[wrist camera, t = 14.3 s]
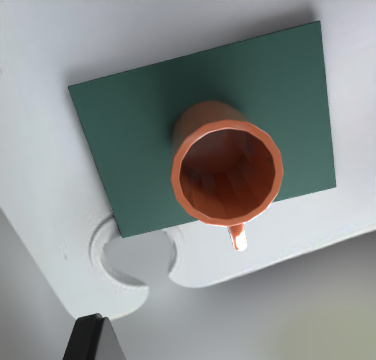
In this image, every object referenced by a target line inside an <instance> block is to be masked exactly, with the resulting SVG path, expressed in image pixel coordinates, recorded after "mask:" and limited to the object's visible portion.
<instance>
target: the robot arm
mask: <svg viewBox="0 0 376 360" xmlns="http://www.w3.org/2000/svg"><path fill="white" fill-rule="evenodd" d="M63 360H126V358H125V356H124V353H123V351H122V348H121V346H120V344H119V341H118V339H117V337H116V334H115V332H114V330H113V327H112V325H111V322H110V320H109V318H108V317H104V318H103V317H102V316H101V314H99V313H97V314H92V315H88V316H84V317H80V318H78V319H77V320H76V322H75V325H74V328H73V331H72V334H71V336H70V340H69V342H68V346H67V348H66V351H65V354H64V357H63Z"/></svg>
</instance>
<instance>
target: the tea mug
mask: <svg viewBox="0 0 376 360" xmlns="http://www.w3.org/2000/svg"><path fill="white" fill-rule="evenodd" d="M282 177H283V165H282V159H281V153H280V151H279V149H278V148H277V146H276V144H275V143H274V141H273V140H272V138H271V137H270V135H269V134H268V133H266V132H265V131H264V130H263V129H262V128H260V127H259V126H258V125H257V124H256V123H254V122H253V121H252V120H251V119H249V118H248V117H247V116H246V115H245V114H243V113H242V112H241V111H240V110H238V109H236V108H235V107H234V106H232V105H230V104H228V103H225V102H222V101H216V100H209V101H203V102H199V103H197V104H195V105H193V106H191V107H189V108H188V109H187V110H186V111H184V112H183V113H182V115H181V116H180V117H179V119H178V120H177V122H176V124H175V126H174V129H173V133H172V141H171V177H170V178H171V183H172V187H173V190H174V194H175V197H176V200H177V201H178V202H179V203H180V204H181V206H182V207H183V208H184V209H185V211H186V212H187V213H188V214H189V215H191V216H193V217H194V218H196V219H198V220H200V221H202V222H204V223H206V224H210V225H219V226H227V228H228V231H229V234H230V237H231V240H232V244H233V246H234V248H235V249H236V250H239V251H241V250H244V249H245V248H246V247H247V239H246V235H245V230H244V225H243V223H245V222H248V221H250V220H251V219H253V218H254V217H256V216H257V215H259V214H261V213H262V212H264V211H265V210H266V209H267V208H268V206H269V205H270V204H271V202H272V201H273V200H274V198H275V197H276V196H277V194H278V192H279V188H280V185H281V181H282Z"/></svg>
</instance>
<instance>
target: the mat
mask: <svg viewBox="0 0 376 360" xmlns="http://www.w3.org/2000/svg"><path fill="white" fill-rule="evenodd" d="M68 89H69V91H70V94H71V97H72V100H73V103H74V105H75V108H76V111H77V114H78V116H79V119H80V122H81V125H82V128H83V130H84V133H85V136H86V139H87V141H88V144H89V147H90V150H91V153H92V155H93V158H94V161H95V164H96V166H97V169H98V172H99V175H100V178H101V180H102V183H103V186H104V189H105V191H106V194H107V197H108V200H109V203H110V205H111V208H112V211H113V214H114V216H115V219H116V222H117V225H118V228H119V230H120V233H121V236H122V238H126V237H130V236H134V235H138V234H143V233H146V232H151V231H155V230H159V229H164V228H168V227H172V226H176V225H180V224H184V223H189V222H193V221H197V220H198V219H196V218H194V217H193V216H191V215H189V214H188V213H187V212H186V211H185V209H184V208H183V207H182V206H181V204H180V203H179V202H178V201H177V200H176V197H175V194H174V190H173V187H172V183H171V178H170V177H171V141H172V133H173V129H174V126H175V124H176V122H177V120H178V119H179V117H180V116H181V115H182V113H183V112H184V111H186V110H187V109H188V108H189V107H191V106H193V105H195V104H197V103H199V102H203V101H209V100H216V101H222V102H225V103H228V104H230V105H232V106H234V107H235V108H236V109H238V110H240V111H241V112H242V113H243V114H245V115H246V116H247V117H248V118H249V119H251V120H252V121H253V122H254V123H256V124H257V125H258V126H259V127H260V128H262V129H263V130H264V131H265V132H266V133H268V134H269V135H270V137H271V138H272V140H273V141H274V143H275V144H276V146H277V148H278V149H279V151H280V153H281V159H282V165H283V177H282V181H281V185H280V188H279V192H278V194H277V196H276V197H275V198H274V200H273V201H272V202H276V201H280V200H285V199H289V198H293V197H297V196H301V195H305V194H310V193H314V192H318V191H322V190H326V189H330V188H335V187H336V179H335V169H334V158H333V148H332V138H331V127H330V117H329V107H328V96H327V86H326V76H325V65H324V55H323V45H322V34H321V24H320V21H316V22H312V23H308V24H304V25H300V26H297V27H293V28H289V29H285V30H281V31H277V32H274V33H270V34H266V35H262V36H258V37H255V38H251V39H247V40H243V41H239V42H236V43H232V44H228V45H224V46H220V47H216V48H213V49H209V50H205V51H201V52H197V53H194V54H190V55H186V56H182V57H178V58H175V59H171V60H167V61H163V62H159V63H155V64H152V65H148V66H144V67H140V68H136V69H133V70H129V71H125V72H121V73H117V74H114V75H110V76H106V77H102V78H98V79H94V80H91V81H87V82H83V83H79V84H75V85H72V86H68ZM272 202H271V203H272Z"/></svg>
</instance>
